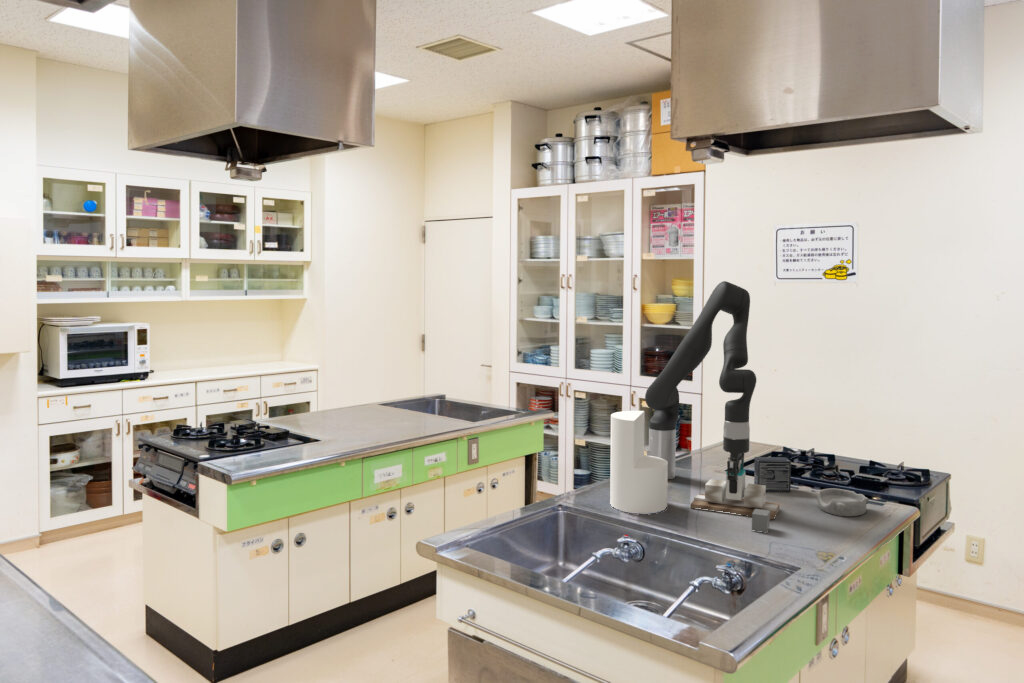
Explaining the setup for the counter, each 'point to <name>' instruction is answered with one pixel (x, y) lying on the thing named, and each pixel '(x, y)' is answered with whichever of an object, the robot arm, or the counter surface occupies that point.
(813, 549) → the counter surface
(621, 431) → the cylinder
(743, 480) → the block
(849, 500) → the dish
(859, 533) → the counter surface
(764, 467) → the small box
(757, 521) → the grey block
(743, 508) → the board
